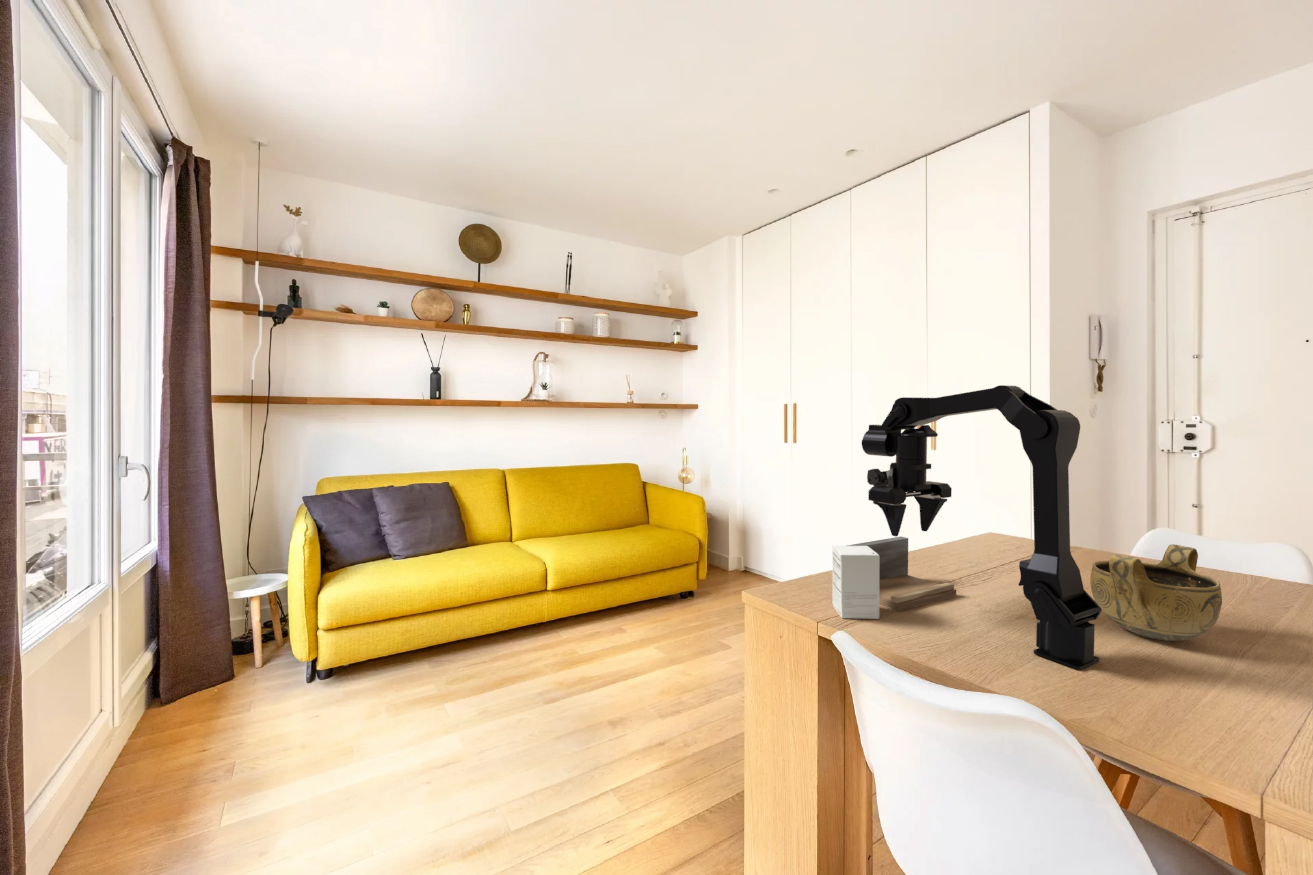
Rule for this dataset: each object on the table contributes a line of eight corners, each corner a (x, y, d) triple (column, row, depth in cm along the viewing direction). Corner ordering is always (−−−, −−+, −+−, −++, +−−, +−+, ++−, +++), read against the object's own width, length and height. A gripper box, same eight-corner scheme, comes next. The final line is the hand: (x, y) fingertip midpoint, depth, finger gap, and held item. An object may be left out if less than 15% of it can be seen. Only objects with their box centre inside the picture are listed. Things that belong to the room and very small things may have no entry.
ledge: (959, 595, 113) (959, 549, 112) (896, 612, 104) (896, 562, 103) (900, 577, 126) (900, 536, 125) (839, 590, 117) (840, 546, 116)
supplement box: (868, 605, 107) (868, 545, 107) (880, 620, 100) (880, 554, 100) (831, 605, 108) (831, 544, 108) (840, 618, 101) (840, 554, 100)
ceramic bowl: (1181, 666, 81) (1184, 570, 80) (1059, 626, 96) (1061, 545, 96) (1247, 640, 90) (1250, 553, 89) (1126, 607, 105) (1128, 533, 105)
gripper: (906, 453, 119) (905, 521, 120) (847, 457, 110) (846, 530, 111) (953, 457, 109) (952, 531, 110) (893, 461, 101) (891, 542, 101)
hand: (909, 533), depth 108 cm, fingers open, 9 cm apart
